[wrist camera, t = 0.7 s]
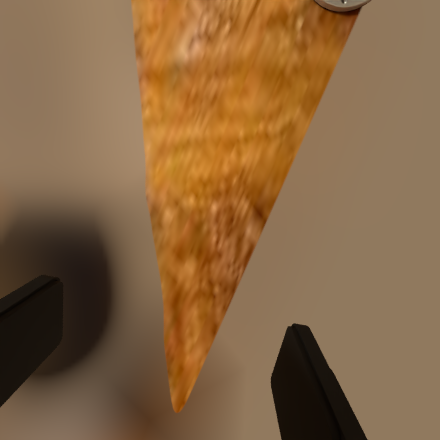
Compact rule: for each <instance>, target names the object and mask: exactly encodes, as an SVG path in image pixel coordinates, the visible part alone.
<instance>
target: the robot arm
mask: <svg viewBox="0 0 440 440" xmlns="http://www.w3.org/2000/svg"><path fill="white" fill-rule="evenodd" d="M315 1H316V2H317V3H318V4H319V5H321V6H322V7H325V8H327V9H329V10H333V11H338V12H340V11H350V10H354V9H357V8H359V7H362V6H364V5H365V4H367V3H368V2H370V1H371V0H315ZM62 328H63V283H62V282H60V279H59V278H58V277H53V276H47V275H41V276H39V277H37V278H35V279H34V280H32V281H30V282H29V283H27V284H25V285H24V286H22V287H20V288H18V289H17V290H15V291H13V292H12V293H10V294H8V295H7V296H5V297H3V298H1V299H0V407H1V406H2V405H3V404H4V403H5V402H6V401H7V400H8V399H9V398H10V396H11V395H12V394H13V393H14V392H15V391H16V390H17V389H18V388H19V387H20V386H21V385H22V384H23V382H25V380H26V379H27V378H28V377H29V376H30V375H31V374H32V373H33V372H34V371H35V370H36V369H37V368H38V367H39V365H40V364H41V363H42V362H43V361H44V360H45V359H46V358H47V357H48V356H49V355H50V354H51V353H52V352H53V350H54V349H55V348H56V347H57V346H58V345H59V343H60V341H61V339H62ZM271 388H272V393H273V398H274V403H275V409H276V413H277V419H278V424H279V429H280V434H281V439H282V440H367V438H366V436H365V434H364V432H363V430H362V428H361V426H360V424H359V422H358V420H357V418H356V416H355V414H354V412H353V410H352V408H351V407H350V404H349V402H348V401H347V398H346V397H345V394H344V393H343V391H342V389H341V387H340V385H339V383H338V381H337V379H336V377H335V375H334V373H333V372H332V370H331V369H330V368H329V366H328V364H327V362H326V360H325V358H324V356H323V354H322V352H321V350H320V348H319V346H318V344H317V342H316V340H315V338H314V336H313V334H312V332H311V330H310V328H309V327H308V326H306V325H300V324H292V326H288V328H287V330H286V333H285V336H284V340H283V342H282V345H281V348H280V352H279V354H278V357H277V361H276V363H275V367H274V370H273V373H272V376H271Z"/></svg>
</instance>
